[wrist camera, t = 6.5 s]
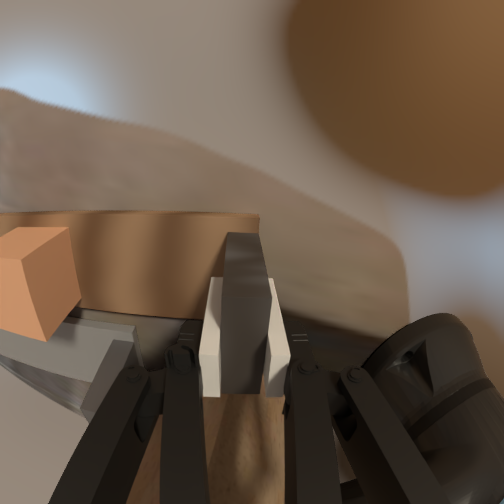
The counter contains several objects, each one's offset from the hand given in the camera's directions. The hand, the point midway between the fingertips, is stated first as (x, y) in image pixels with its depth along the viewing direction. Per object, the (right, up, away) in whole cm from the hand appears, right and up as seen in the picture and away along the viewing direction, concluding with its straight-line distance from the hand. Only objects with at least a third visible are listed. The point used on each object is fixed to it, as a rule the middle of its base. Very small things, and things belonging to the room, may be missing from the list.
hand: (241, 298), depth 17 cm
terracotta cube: (-16, +2, +2) cm, 16 cm away
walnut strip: (-11, +2, +3) cm, 12 cm away
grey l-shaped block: (-22, -7, +6) cm, 23 cm away
